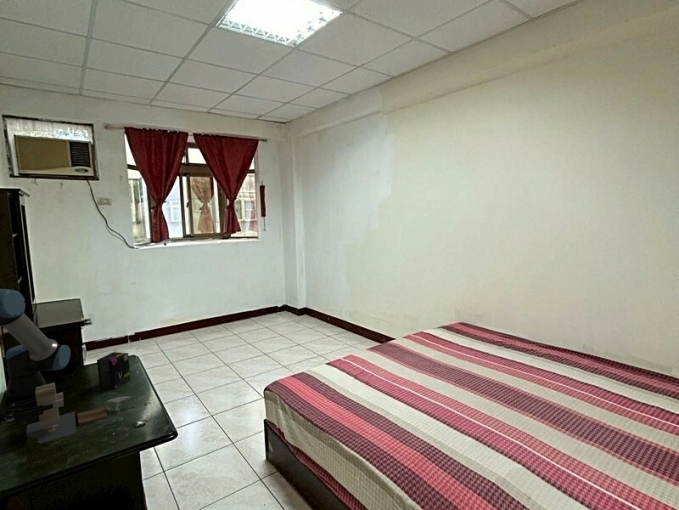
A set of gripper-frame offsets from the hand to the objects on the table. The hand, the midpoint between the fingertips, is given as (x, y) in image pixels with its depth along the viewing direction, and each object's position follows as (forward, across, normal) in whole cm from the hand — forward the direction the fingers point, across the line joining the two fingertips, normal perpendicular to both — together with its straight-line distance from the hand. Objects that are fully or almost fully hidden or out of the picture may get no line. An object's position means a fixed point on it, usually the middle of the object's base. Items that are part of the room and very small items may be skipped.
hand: (63, 399), depth 154 cm
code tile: (-5, 0, -11) cm, 12 cm away
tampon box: (+21, -30, -12) cm, 39 cm away
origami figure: (+20, +1, -12) cm, 23 cm away
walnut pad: (+9, 0, -11) cm, 14 cm away
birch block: (-5, 0, -7) cm, 9 cm away
